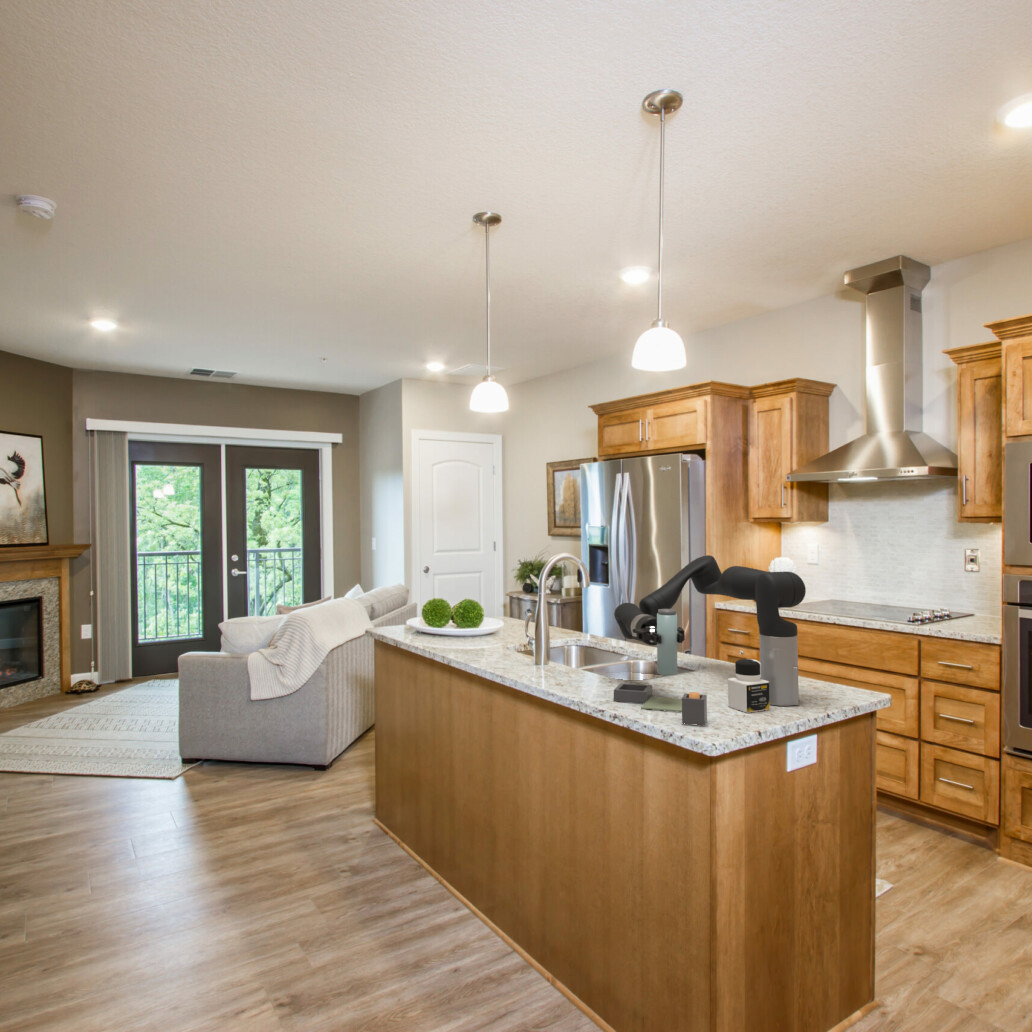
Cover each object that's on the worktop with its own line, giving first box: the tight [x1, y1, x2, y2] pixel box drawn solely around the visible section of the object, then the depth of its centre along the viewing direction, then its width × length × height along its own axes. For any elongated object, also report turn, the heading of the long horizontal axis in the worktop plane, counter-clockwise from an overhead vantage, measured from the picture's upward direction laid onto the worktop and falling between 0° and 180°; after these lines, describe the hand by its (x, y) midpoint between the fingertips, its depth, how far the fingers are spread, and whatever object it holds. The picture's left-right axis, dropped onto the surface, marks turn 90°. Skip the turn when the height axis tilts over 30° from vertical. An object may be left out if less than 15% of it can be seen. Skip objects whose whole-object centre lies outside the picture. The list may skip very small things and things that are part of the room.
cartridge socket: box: [613, 682, 653, 704], centre depth 192 cm, size 8×8×3 cm
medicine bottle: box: [727, 658, 771, 714], centre depth 181 cm, size 7×7×12 cm
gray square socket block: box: [681, 693, 708, 726], centre depth 169 cm, size 5×5×6 cm
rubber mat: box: [640, 696, 682, 713], centre depth 185 cm, size 12×12×1 cm
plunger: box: [688, 691, 700, 699], centre depth 169 cm, size 2×2×6 cm
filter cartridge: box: [656, 608, 678, 676], centre depth 185 cm, size 5×5×16 cm
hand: (670, 639), depth 183 cm, fingers closed on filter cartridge, 5 cm apart
